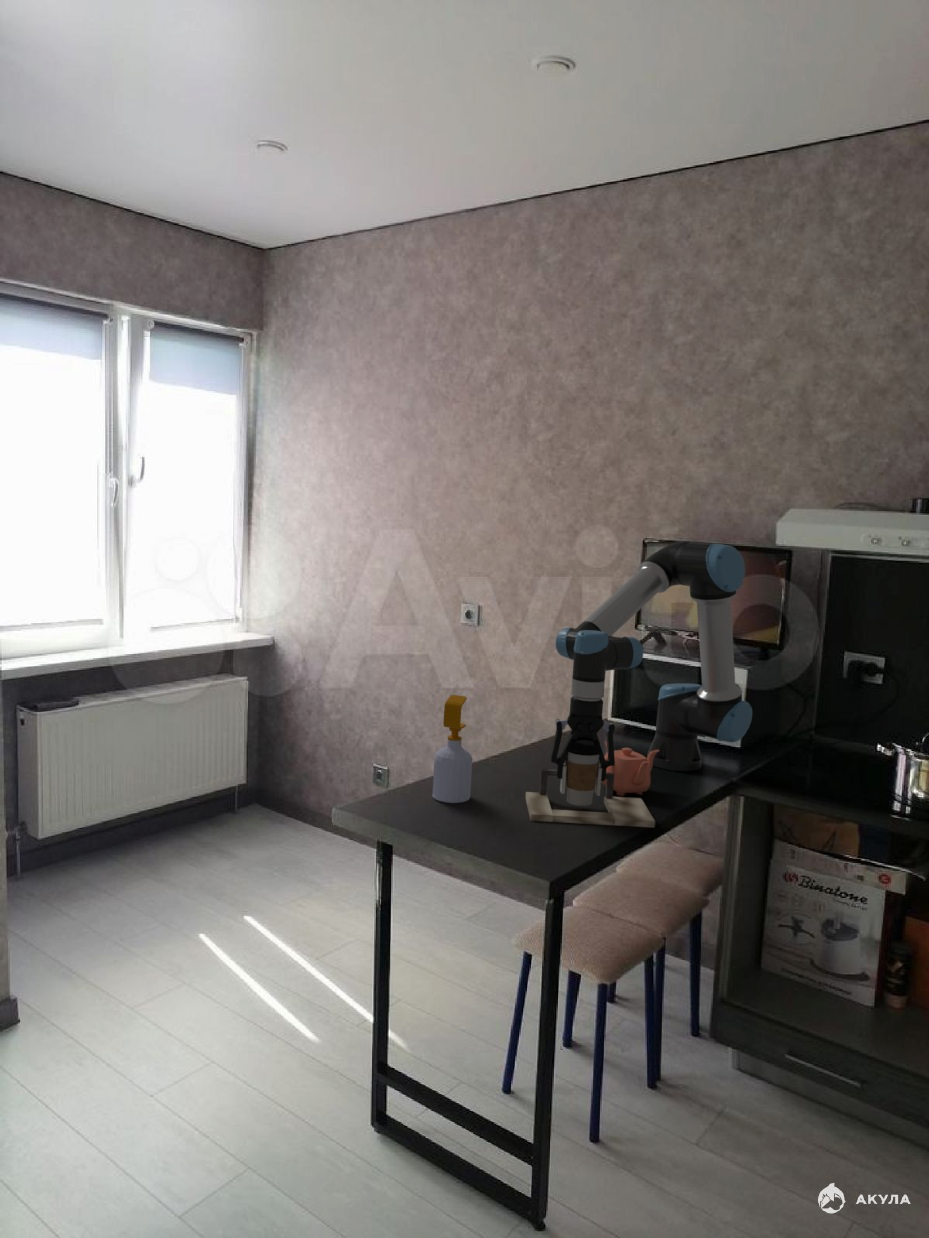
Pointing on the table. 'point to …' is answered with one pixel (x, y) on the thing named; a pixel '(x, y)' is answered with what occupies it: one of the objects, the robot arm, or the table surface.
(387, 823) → the table surface
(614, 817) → the cream rectangular frame
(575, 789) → the coffee cup
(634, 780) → the teapot
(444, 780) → the spray bottle
